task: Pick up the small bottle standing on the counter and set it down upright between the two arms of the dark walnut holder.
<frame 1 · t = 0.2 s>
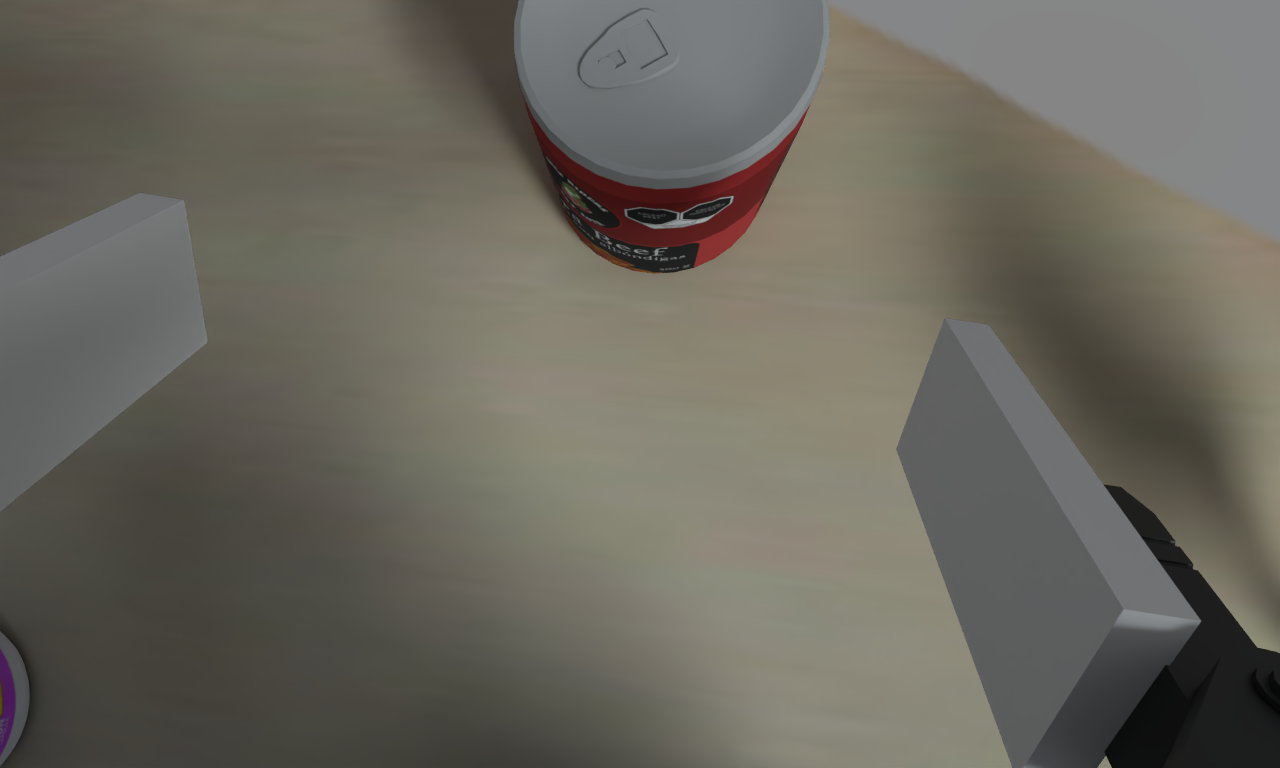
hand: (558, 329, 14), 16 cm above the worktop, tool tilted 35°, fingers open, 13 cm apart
canned food: (661, 182, 30), on the worktop
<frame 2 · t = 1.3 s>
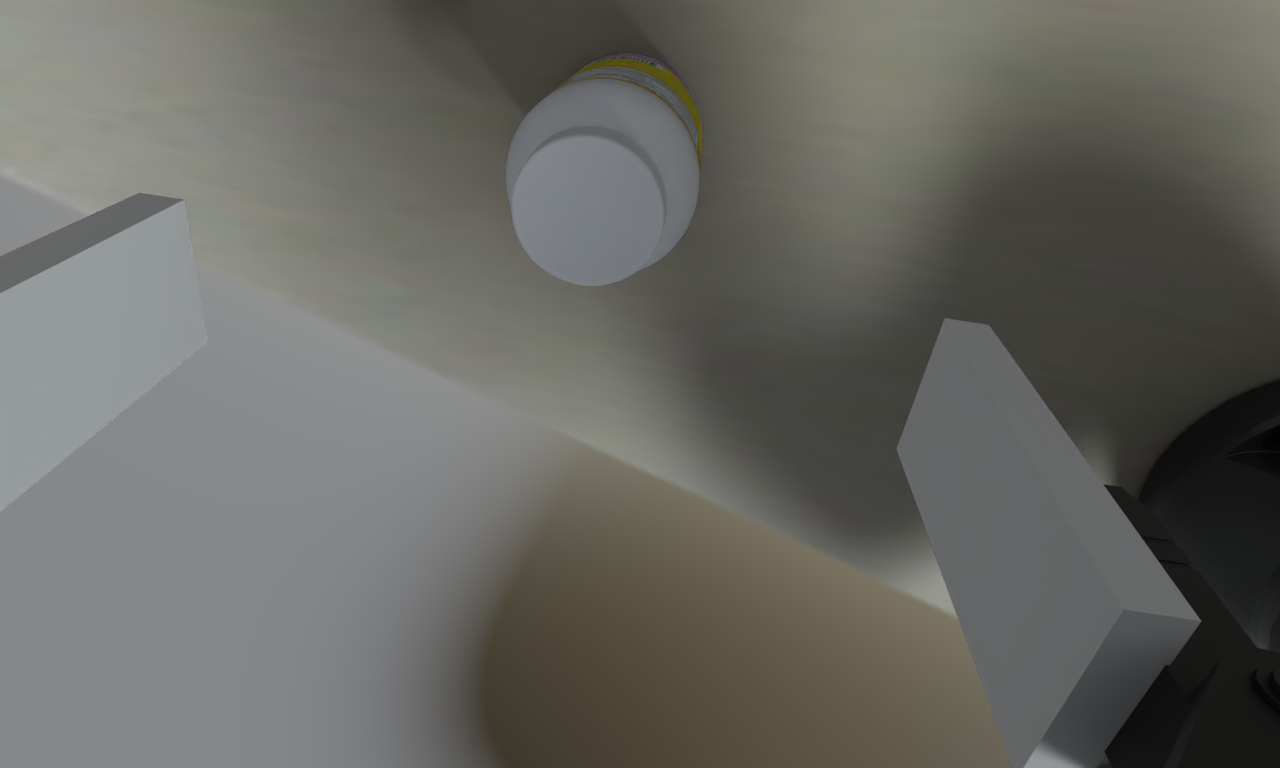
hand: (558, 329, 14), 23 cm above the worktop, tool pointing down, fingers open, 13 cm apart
supplement bottle: (630, 130, 35), on the worktop
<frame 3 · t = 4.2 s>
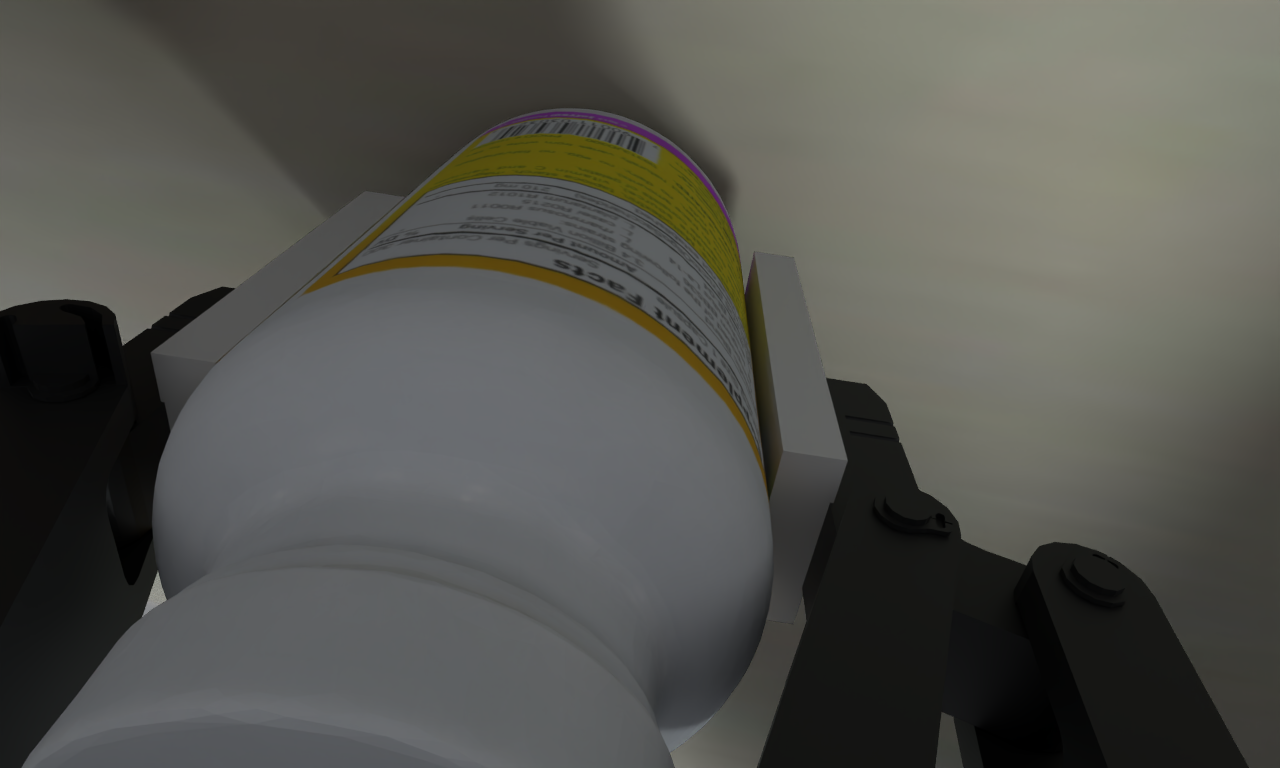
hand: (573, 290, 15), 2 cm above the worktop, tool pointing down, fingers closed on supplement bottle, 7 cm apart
supplement bottle: (585, 259, 17), on the worktop, touching gripper
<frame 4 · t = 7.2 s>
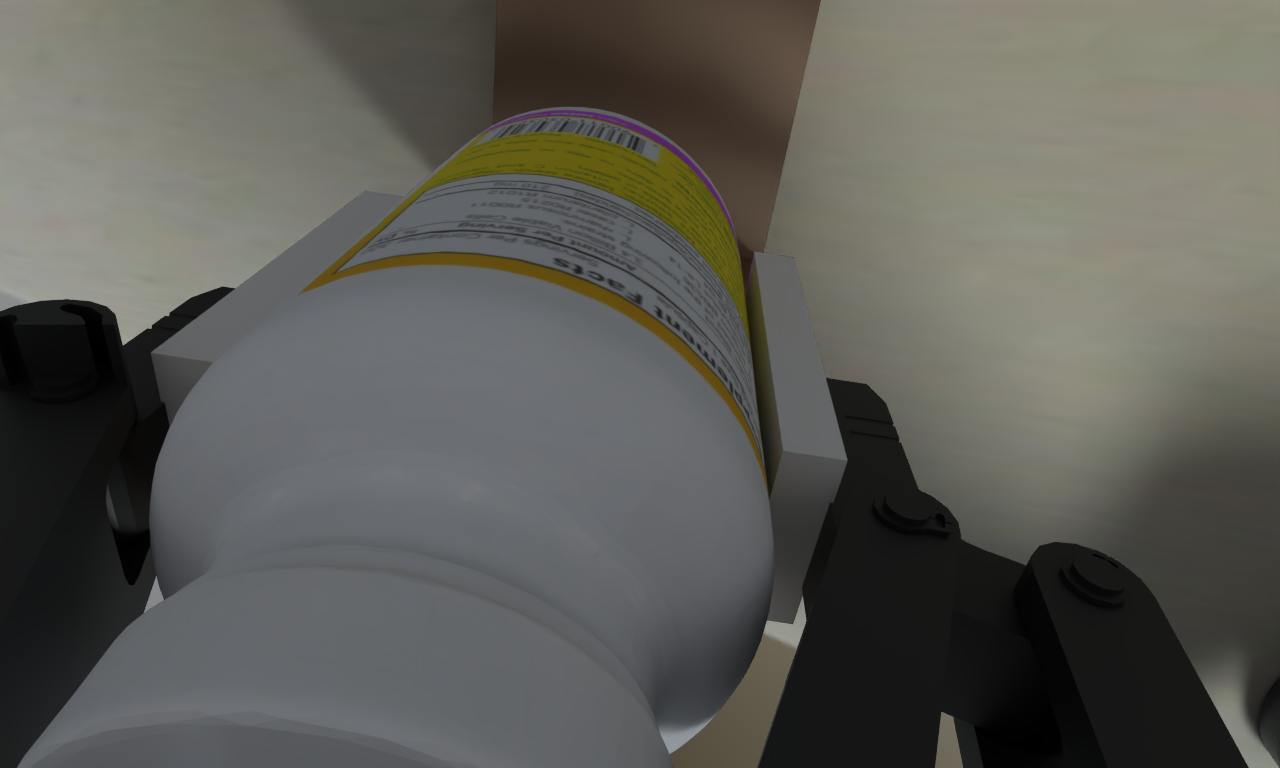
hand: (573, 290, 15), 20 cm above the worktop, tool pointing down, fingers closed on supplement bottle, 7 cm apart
supplement bottle: (585, 258, 17), point 18 cm above the worktop, touching gripper
holder: (645, 101, 32), on the worktop
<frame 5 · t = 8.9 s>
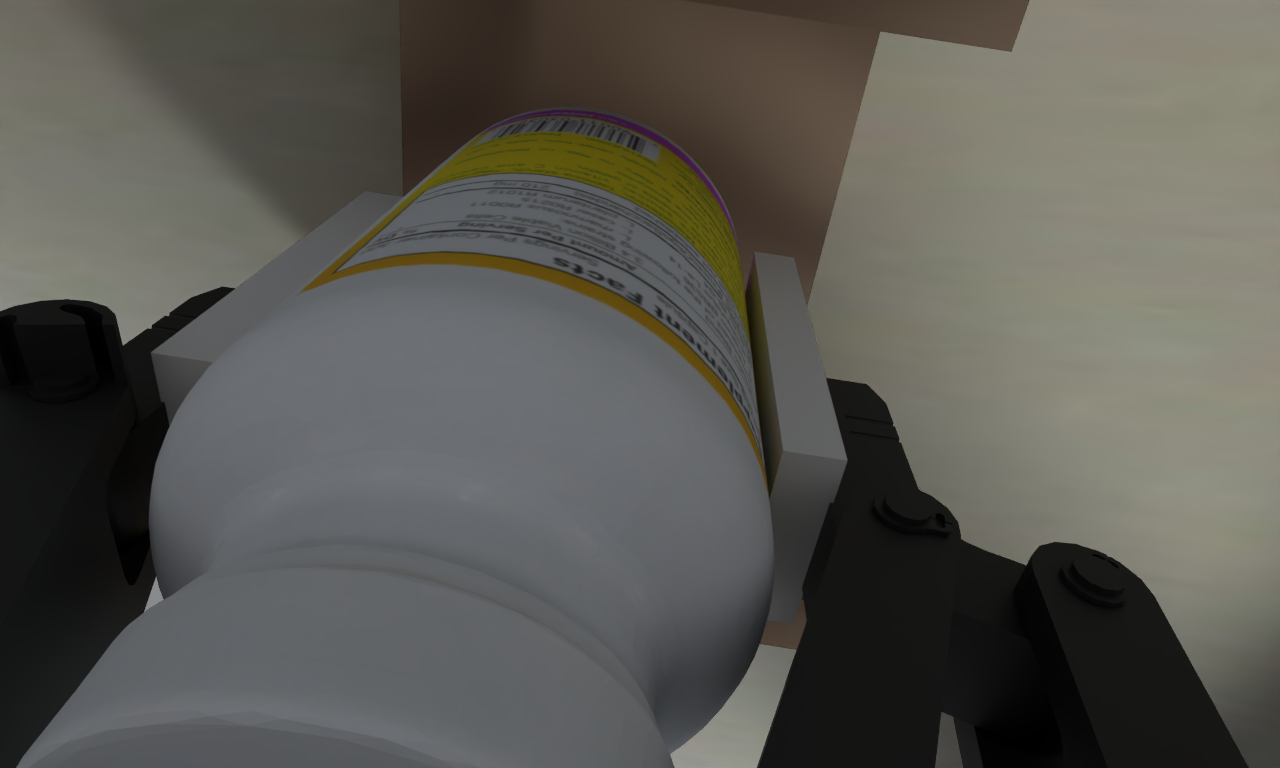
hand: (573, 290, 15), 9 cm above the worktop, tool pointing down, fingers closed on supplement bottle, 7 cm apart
supplement bottle: (585, 258, 17), point 7 cm above the worktop, touching gripper
holder: (621, 174, 23), on the worktop
when the fingers open (4 cm above the worktop, at t = 10.2 s): supplement bottle drops 1 cm, resting on holder.
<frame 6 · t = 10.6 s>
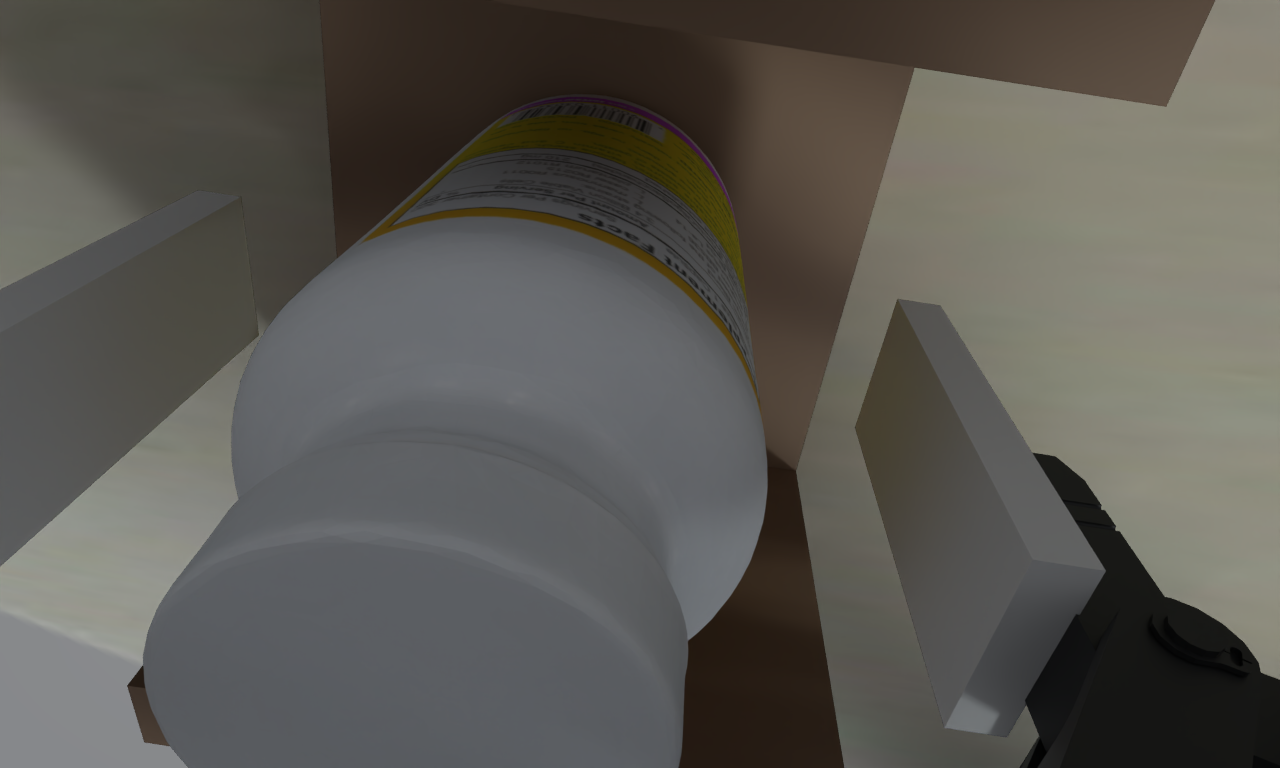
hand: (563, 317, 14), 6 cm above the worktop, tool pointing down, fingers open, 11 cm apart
supplement bottle: (594, 236, 18), point 1 cm above the worktop, touching holder
holder: (600, 218, 19), on the worktop
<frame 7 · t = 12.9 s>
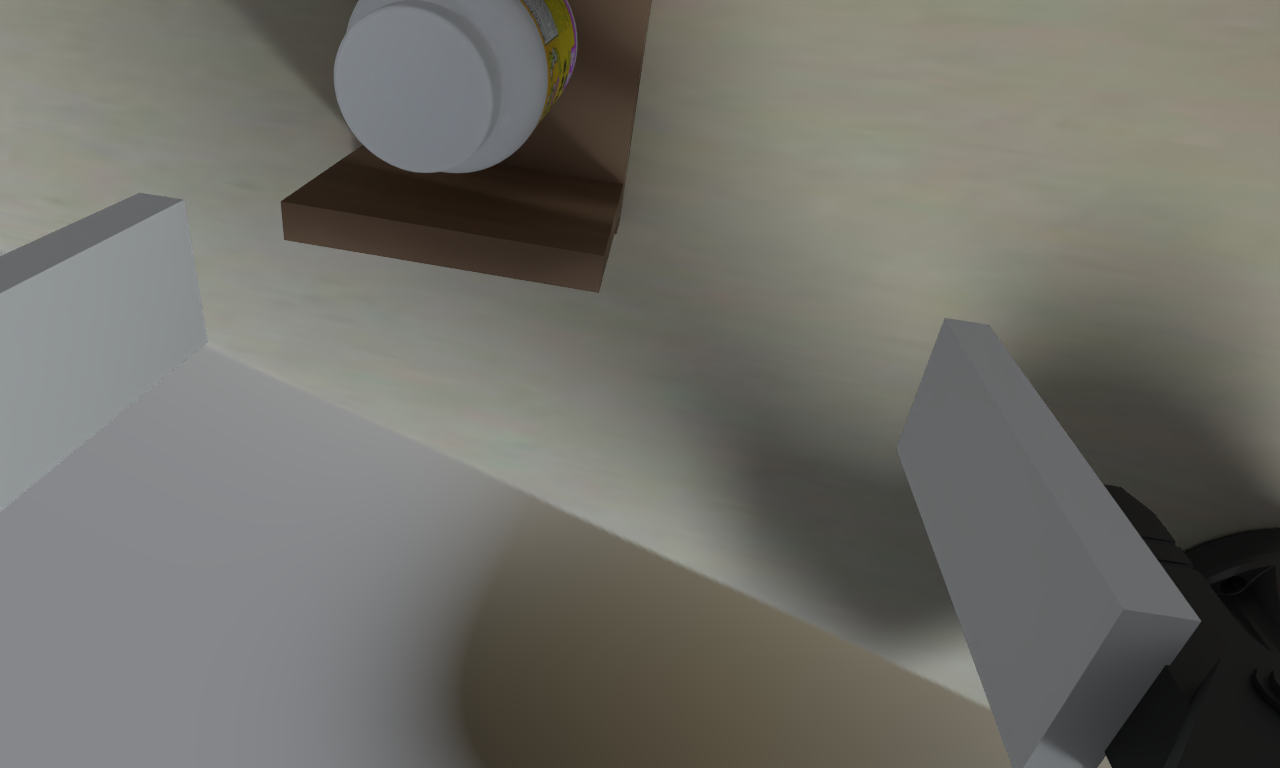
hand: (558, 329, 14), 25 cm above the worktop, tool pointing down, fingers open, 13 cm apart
supplement bottle: (505, 36, 34), point 1 cm above the worktop, touching holder
holder: (511, 31, 35), on the worktop
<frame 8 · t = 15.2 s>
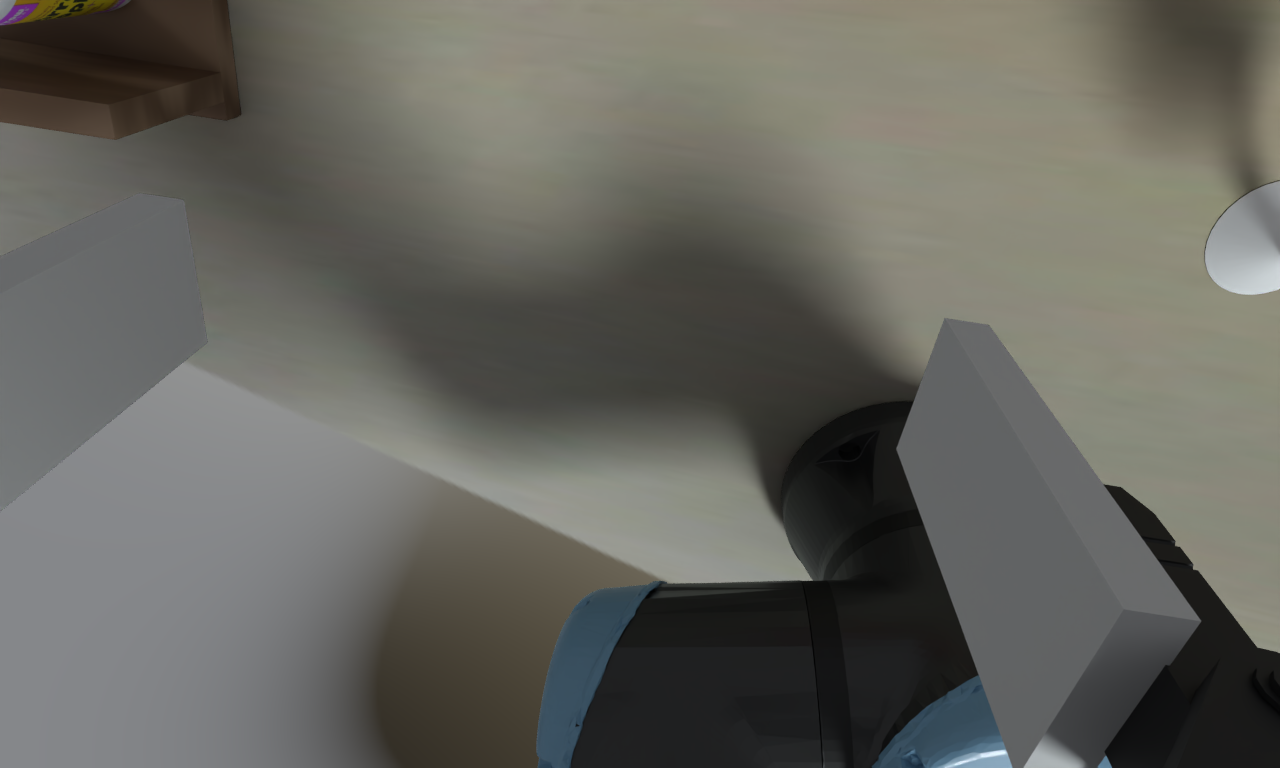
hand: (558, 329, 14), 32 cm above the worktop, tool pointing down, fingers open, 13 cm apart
champagne flute: (1268, 238, 43), on the worktop
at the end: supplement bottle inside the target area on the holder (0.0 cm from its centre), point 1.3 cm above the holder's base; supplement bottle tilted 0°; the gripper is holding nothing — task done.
